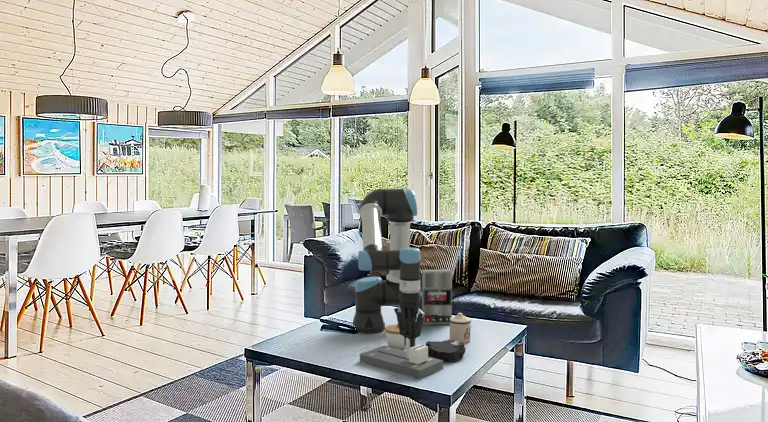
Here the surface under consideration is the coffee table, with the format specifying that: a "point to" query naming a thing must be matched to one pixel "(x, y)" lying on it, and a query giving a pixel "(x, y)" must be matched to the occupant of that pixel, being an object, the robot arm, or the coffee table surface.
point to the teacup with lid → (460, 328)
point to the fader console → (400, 362)
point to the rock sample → (446, 350)
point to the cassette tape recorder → (437, 296)
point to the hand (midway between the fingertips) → (409, 355)
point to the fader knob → (418, 354)
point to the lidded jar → (394, 337)
